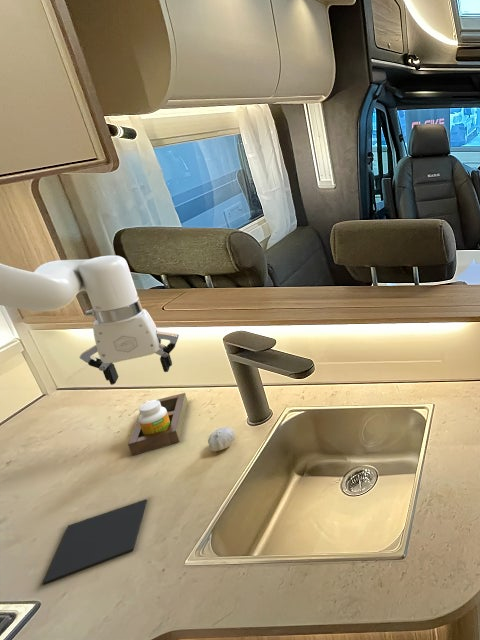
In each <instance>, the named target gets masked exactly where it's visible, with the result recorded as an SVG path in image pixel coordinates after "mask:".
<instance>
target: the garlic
mask: <svg viewBox="0 0 480 640" xmlns="http://www.w3.org/2000/svg"><path fill="white" fill-rule="evenodd" d="M235 436H236V435H235V431H234V429H233V428H230V427H228V426H222V427H220V428H217V429H215V430H214V431H212V432H211V433H210V434H209V437H208V440H207V444H208V449H209V451H211V452H219V451H223V450H225V449H227V448H229V446H231V445H232V443H233V442H234V441H235Z"/></svg>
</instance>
